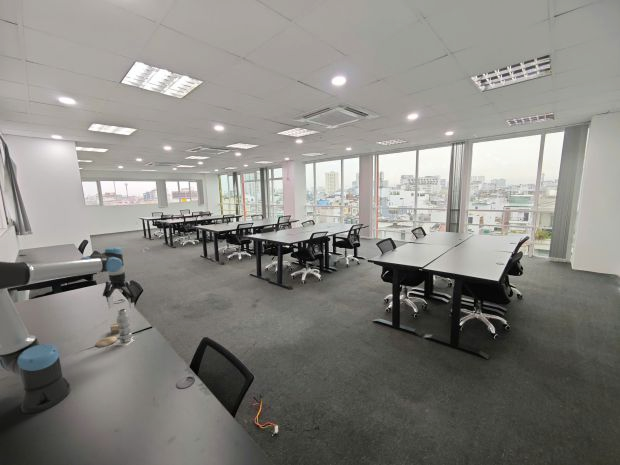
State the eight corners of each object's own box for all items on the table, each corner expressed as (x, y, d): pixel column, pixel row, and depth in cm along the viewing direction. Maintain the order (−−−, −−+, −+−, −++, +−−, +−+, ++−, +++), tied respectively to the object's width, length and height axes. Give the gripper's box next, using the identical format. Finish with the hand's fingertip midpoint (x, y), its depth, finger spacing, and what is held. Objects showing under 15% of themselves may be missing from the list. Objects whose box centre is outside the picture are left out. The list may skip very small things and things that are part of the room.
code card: (127, 345, 150) (127, 345, 150) (113, 345, 151) (113, 344, 151) (138, 337, 159) (138, 337, 159) (125, 336, 160) (125, 336, 160)
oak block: (120, 332, 165) (119, 325, 164) (111, 333, 163) (110, 326, 163) (123, 328, 169) (122, 321, 169) (115, 329, 168) (114, 322, 167)
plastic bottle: (127, 343, 152) (123, 312, 149) (116, 343, 152) (112, 312, 149) (135, 337, 158) (131, 307, 155) (124, 337, 158) (120, 307, 155)
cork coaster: (107, 347, 149) (107, 346, 149) (91, 346, 150) (91, 345, 150) (121, 337, 159) (121, 336, 159) (106, 337, 160) (106, 336, 160)
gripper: (141, 271, 151) (145, 305, 154) (103, 271, 153) (108, 303, 157) (131, 275, 143) (136, 310, 147) (91, 275, 146) (96, 309, 149)
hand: (121, 307), depth 152 cm, fingers open, 13 cm apart
